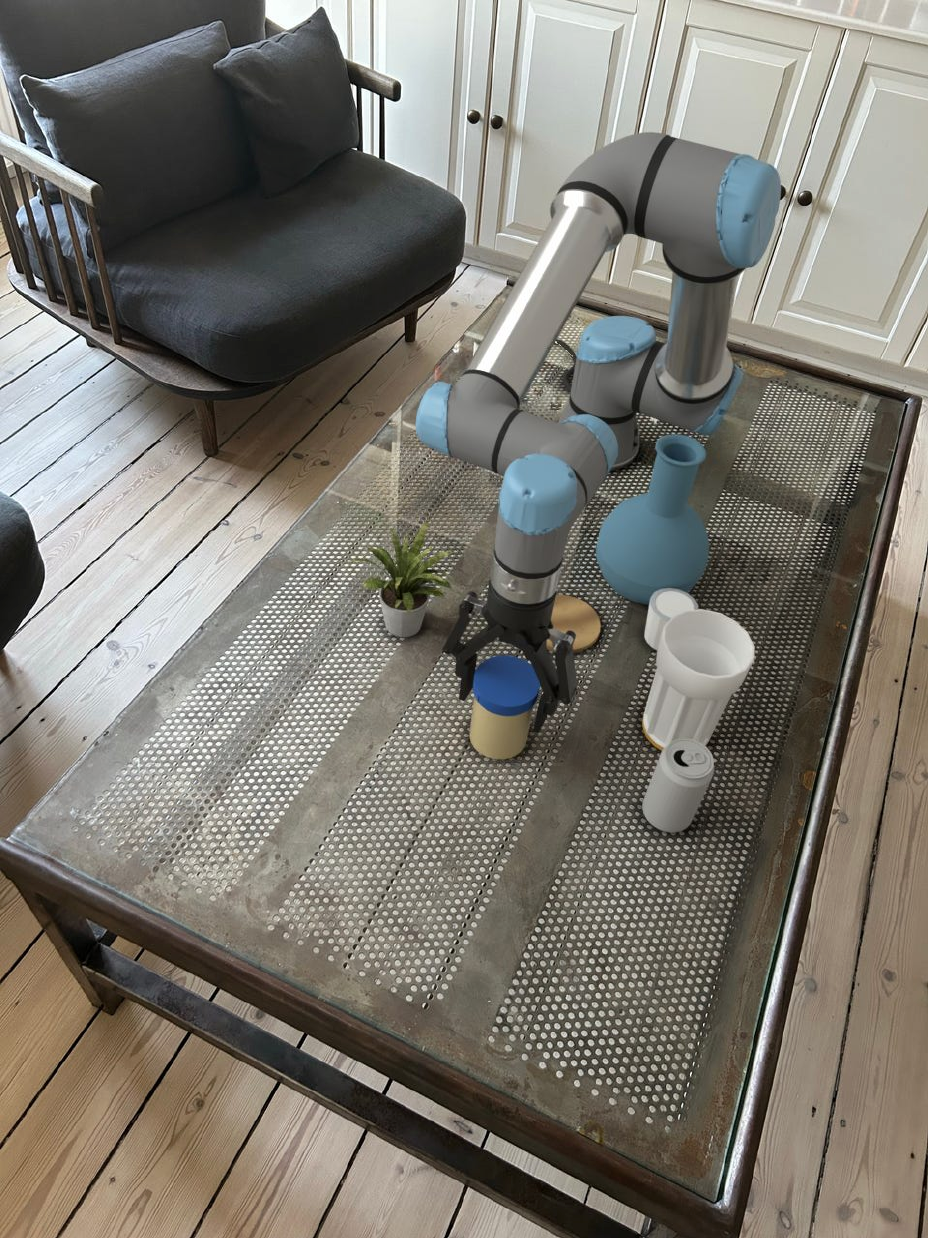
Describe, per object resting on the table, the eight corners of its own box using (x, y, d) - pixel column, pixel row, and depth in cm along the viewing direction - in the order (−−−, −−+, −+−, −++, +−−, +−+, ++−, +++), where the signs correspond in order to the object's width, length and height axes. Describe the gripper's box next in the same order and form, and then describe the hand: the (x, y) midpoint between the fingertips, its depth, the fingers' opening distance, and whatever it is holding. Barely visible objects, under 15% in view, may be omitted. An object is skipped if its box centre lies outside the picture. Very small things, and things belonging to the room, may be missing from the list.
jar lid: (495, 726, 118) (497, 716, 116) (459, 680, 122) (460, 670, 121) (551, 700, 121) (553, 690, 120) (514, 656, 126) (516, 646, 124)
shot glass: (690, 628, 145) (702, 595, 139) (682, 661, 140) (694, 628, 135) (645, 615, 146) (655, 581, 141) (635, 647, 141) (645, 613, 136)
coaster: (512, 607, 145) (513, 604, 144) (578, 591, 148) (579, 587, 148) (545, 661, 138) (545, 657, 137) (613, 642, 142) (614, 638, 141)
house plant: (370, 679, 134) (371, 595, 122) (331, 611, 142) (329, 526, 130) (463, 647, 139) (473, 563, 127) (421, 583, 147) (426, 499, 135)
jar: (460, 721, 130) (466, 669, 122) (512, 706, 132) (521, 654, 124) (483, 766, 125) (490, 715, 117) (536, 750, 128) (547, 699, 120)
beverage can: (636, 792, 124) (656, 735, 115) (685, 790, 125) (709, 734, 116) (646, 836, 120) (668, 781, 111) (697, 835, 121) (723, 779, 112)
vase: (708, 566, 154) (754, 435, 136) (679, 635, 143) (725, 503, 125) (609, 531, 158) (641, 400, 140) (574, 596, 147) (603, 462, 129)
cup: (630, 692, 135) (657, 605, 123) (711, 698, 136) (747, 612, 123) (637, 760, 128) (667, 674, 115) (723, 766, 128) (763, 681, 115)
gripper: (418, 568, 109) (411, 695, 125) (605, 643, 103) (572, 766, 119) (448, 529, 113) (438, 656, 130) (629, 599, 108) (594, 722, 124)
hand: (502, 708), depth 125 cm, fingers open, 10 cm apart
